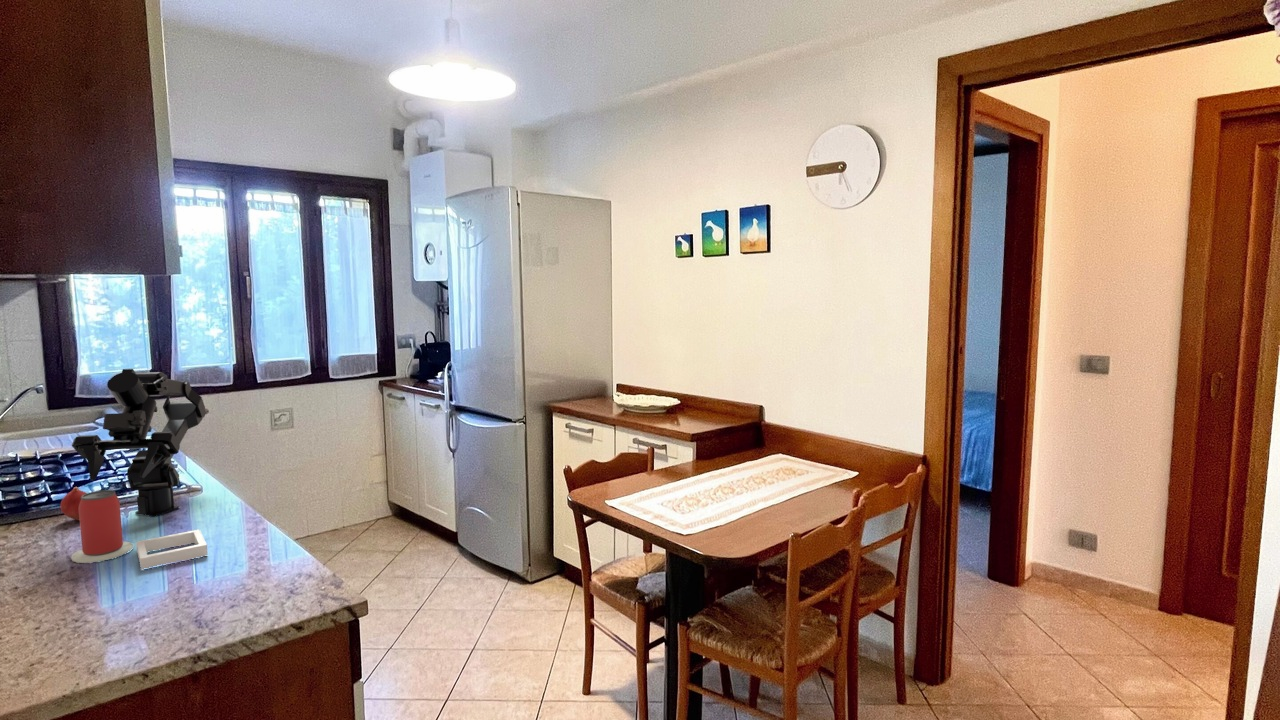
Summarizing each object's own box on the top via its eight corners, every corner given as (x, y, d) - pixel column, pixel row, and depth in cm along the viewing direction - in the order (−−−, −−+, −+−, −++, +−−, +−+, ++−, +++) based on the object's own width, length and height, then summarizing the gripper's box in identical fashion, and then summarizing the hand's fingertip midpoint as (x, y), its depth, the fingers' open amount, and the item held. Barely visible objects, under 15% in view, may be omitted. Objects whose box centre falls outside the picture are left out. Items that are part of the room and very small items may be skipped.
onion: (56, 522, 156) (52, 488, 155) (84, 514, 162) (81, 482, 161) (71, 525, 154) (68, 492, 153) (99, 517, 160) (96, 485, 159)
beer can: (124, 551, 139) (119, 494, 137) (83, 559, 134) (77, 501, 133) (122, 541, 144) (117, 487, 142) (82, 549, 139) (76, 493, 138)
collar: (137, 553, 139) (136, 541, 139) (200, 540, 146) (199, 529, 146) (141, 570, 131) (140, 558, 130) (207, 556, 138) (206, 544, 138)
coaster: (111, 541, 145) (110, 539, 145) (145, 547, 142) (144, 544, 142) (59, 559, 136) (59, 557, 136) (94, 566, 133) (94, 563, 133)
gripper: (72, 399, 146) (47, 462, 136) (170, 396, 151) (153, 456, 141) (94, 427, 154) (72, 488, 145) (187, 423, 159) (171, 482, 150)
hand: (117, 478), depth 145 cm, fingers open, 9 cm apart
